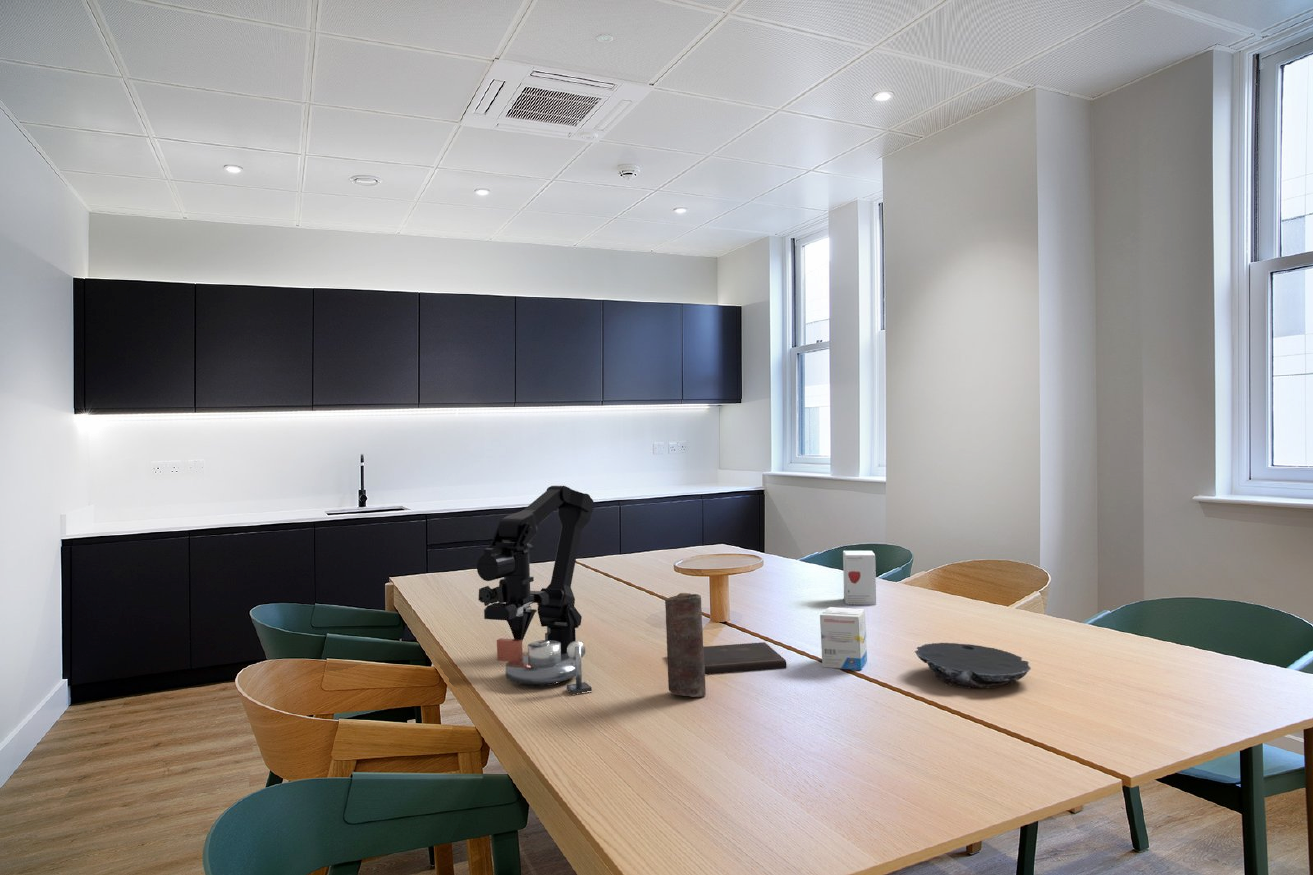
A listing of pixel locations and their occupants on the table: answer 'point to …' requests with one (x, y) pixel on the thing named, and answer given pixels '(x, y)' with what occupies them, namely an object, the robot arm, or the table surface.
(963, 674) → the dark grey flat disc
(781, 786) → the table surface
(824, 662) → the ink box
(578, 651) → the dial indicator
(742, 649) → the hardcover book
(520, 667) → the turntable
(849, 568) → the supplement box
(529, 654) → the cover
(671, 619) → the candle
